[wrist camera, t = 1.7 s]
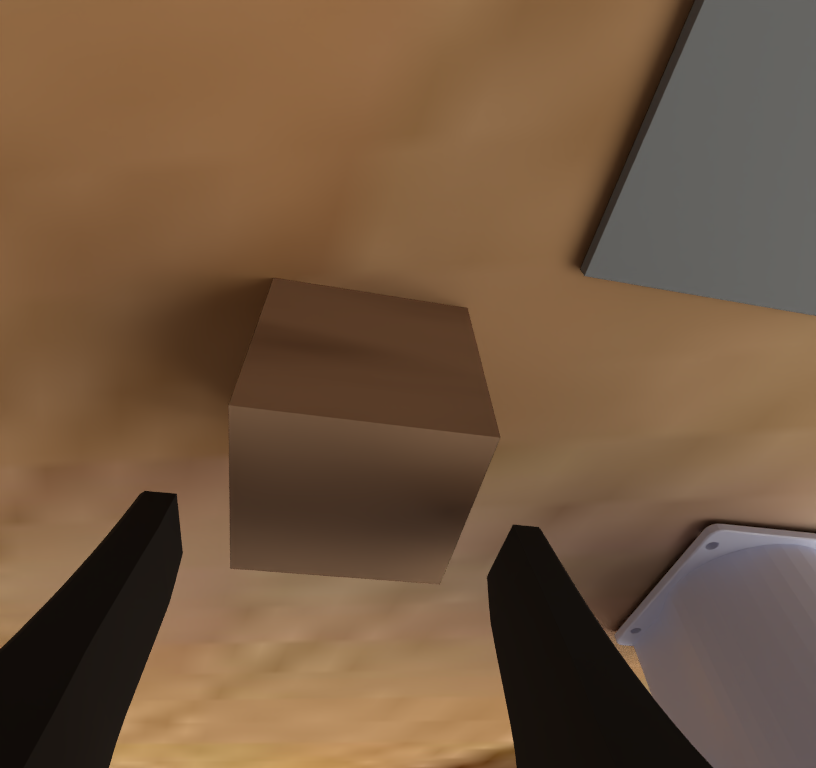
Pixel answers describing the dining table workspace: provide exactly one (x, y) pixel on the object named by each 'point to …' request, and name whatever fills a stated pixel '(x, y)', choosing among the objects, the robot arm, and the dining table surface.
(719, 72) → the mat
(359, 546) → the walnut cube
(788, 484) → the dining table surface
